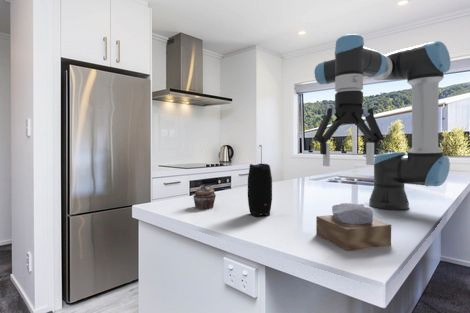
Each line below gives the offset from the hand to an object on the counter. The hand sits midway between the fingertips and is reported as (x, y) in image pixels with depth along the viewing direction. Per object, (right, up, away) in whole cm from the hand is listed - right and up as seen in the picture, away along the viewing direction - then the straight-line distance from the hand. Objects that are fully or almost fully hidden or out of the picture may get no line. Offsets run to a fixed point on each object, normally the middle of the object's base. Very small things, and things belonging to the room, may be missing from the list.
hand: (348, 165), depth 84 cm
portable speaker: (-23, -20, +28) cm, 42 cm away
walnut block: (0, -22, -2) cm, 22 cm away
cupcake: (-46, -20, +41) cm, 65 cm away
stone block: (0, -16, 0) cm, 16 cm away
